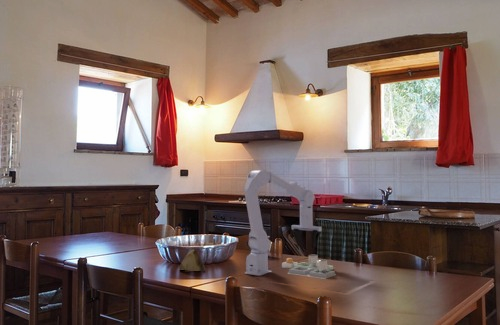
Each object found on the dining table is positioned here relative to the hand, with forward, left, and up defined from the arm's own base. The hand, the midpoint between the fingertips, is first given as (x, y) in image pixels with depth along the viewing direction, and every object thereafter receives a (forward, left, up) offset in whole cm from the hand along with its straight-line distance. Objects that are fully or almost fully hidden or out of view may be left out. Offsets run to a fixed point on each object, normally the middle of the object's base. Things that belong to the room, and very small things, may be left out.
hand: (306, 246), depth 208 cm
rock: (-35, +38, -10) cm, 53 cm away
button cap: (-5, +6, -8) cm, 11 cm away
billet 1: (-3, -5, -9) cm, 11 cm away
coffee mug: (+13, +37, -10) cm, 40 cm away
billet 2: (-13, -15, -9) cm, 22 cm away
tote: (-3, -5, -10) cm, 11 cm away
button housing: (-5, +6, -10) cm, 12 cm away
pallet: (-13, -10, -10) cm, 19 cm away
